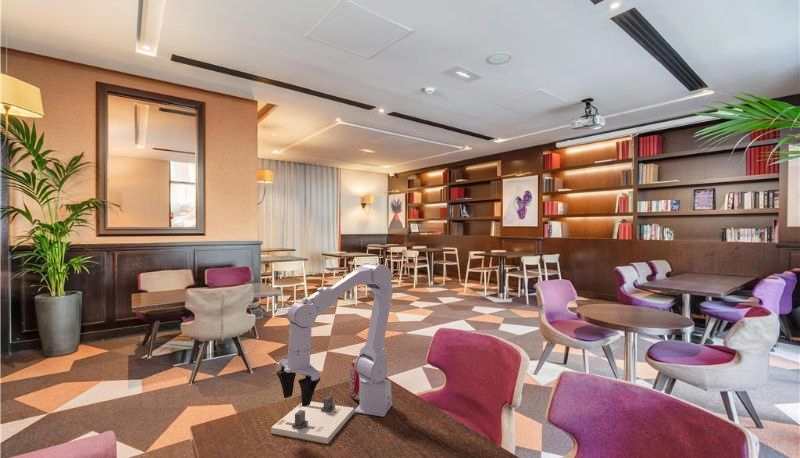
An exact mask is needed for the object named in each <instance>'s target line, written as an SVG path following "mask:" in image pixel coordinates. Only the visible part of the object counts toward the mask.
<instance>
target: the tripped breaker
mask: <svg viewBox="0 0 800 458" xmlns="http://www.w3.org/2000/svg"><path fill="white" fill-rule="evenodd" d="M307 423H308V421H306V420H305V411H304V410H299V411H298V412H297V413H296V414H295V423H294V424H292V427H294V428H300V429H302V428H303V427H304V426H305V425H306V424H307Z"/></svg>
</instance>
